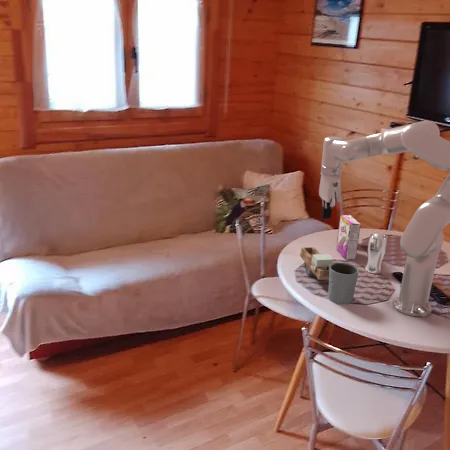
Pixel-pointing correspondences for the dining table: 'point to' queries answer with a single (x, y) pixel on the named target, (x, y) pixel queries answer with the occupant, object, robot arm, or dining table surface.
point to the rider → (322, 260)
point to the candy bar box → (348, 237)
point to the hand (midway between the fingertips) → (326, 217)
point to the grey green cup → (342, 282)
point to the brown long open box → (310, 266)
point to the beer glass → (376, 252)
